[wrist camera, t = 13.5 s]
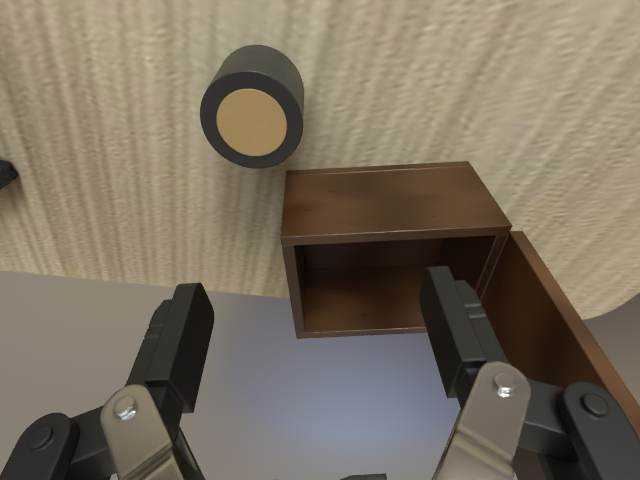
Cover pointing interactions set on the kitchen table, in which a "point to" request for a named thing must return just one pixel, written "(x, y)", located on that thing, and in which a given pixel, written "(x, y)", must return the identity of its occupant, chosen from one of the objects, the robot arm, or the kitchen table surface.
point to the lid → (545, 335)
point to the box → (383, 243)
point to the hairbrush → (6, 173)
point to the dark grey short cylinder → (254, 108)
